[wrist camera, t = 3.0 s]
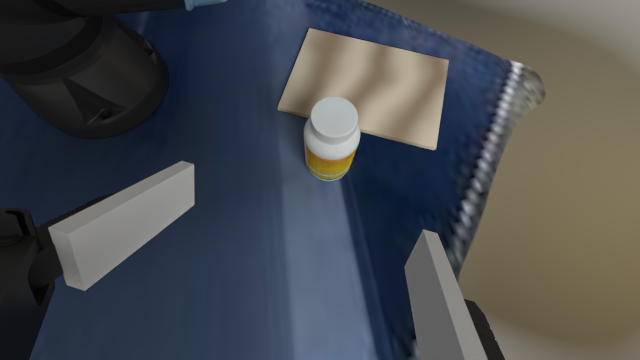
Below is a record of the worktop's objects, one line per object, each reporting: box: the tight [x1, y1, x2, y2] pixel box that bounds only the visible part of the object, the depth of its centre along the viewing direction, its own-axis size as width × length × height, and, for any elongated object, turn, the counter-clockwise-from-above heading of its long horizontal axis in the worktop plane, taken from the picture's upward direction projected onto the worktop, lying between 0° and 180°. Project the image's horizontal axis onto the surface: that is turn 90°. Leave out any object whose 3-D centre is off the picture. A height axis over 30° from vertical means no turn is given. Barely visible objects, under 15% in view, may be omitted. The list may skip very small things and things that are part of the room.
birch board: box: [277, 28, 449, 150], centre depth 33 cm, size 20×14×1 cm
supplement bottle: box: [304, 96, 360, 181], centre depth 26 cm, size 5×5×10 cm
